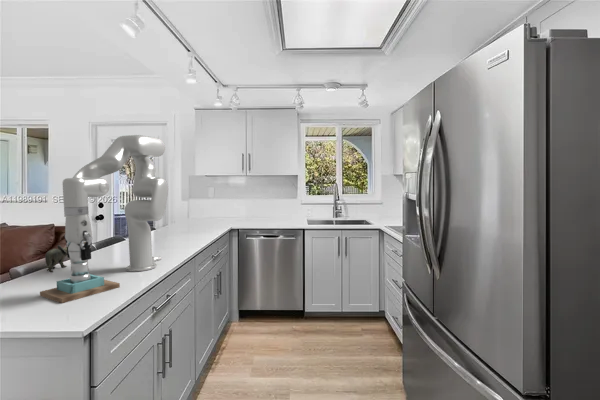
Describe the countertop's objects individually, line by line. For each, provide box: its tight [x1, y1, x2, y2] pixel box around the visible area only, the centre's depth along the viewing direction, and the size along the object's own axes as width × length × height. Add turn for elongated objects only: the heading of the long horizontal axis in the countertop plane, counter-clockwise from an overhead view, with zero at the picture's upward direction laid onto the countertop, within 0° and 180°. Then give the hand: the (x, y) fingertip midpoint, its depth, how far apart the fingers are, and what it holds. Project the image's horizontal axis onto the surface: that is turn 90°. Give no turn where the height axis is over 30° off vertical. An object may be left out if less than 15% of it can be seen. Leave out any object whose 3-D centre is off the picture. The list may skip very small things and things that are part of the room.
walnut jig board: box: [39, 273, 121, 304], centre depth 131 cm, size 20×16×4 cm
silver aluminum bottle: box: [68, 242, 91, 284], centre depth 130 cm, size 6×7×20 cm
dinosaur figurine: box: [42, 244, 68, 273], centre depth 164 cm, size 22×8×11 cm, turn 179°
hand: (79, 258), depth 130 cm, fingers open, 9 cm apart
